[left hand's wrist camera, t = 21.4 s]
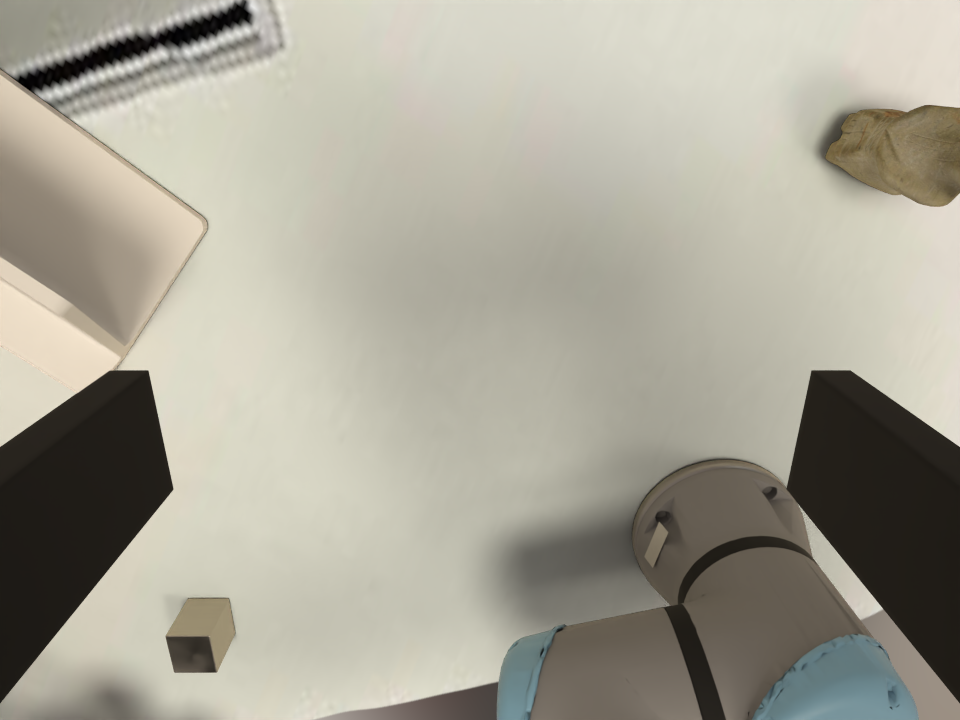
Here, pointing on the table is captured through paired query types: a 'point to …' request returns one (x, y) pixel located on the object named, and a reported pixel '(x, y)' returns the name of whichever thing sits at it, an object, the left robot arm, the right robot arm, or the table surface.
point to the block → (201, 635)
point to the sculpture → (903, 152)
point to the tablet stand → (79, 243)
